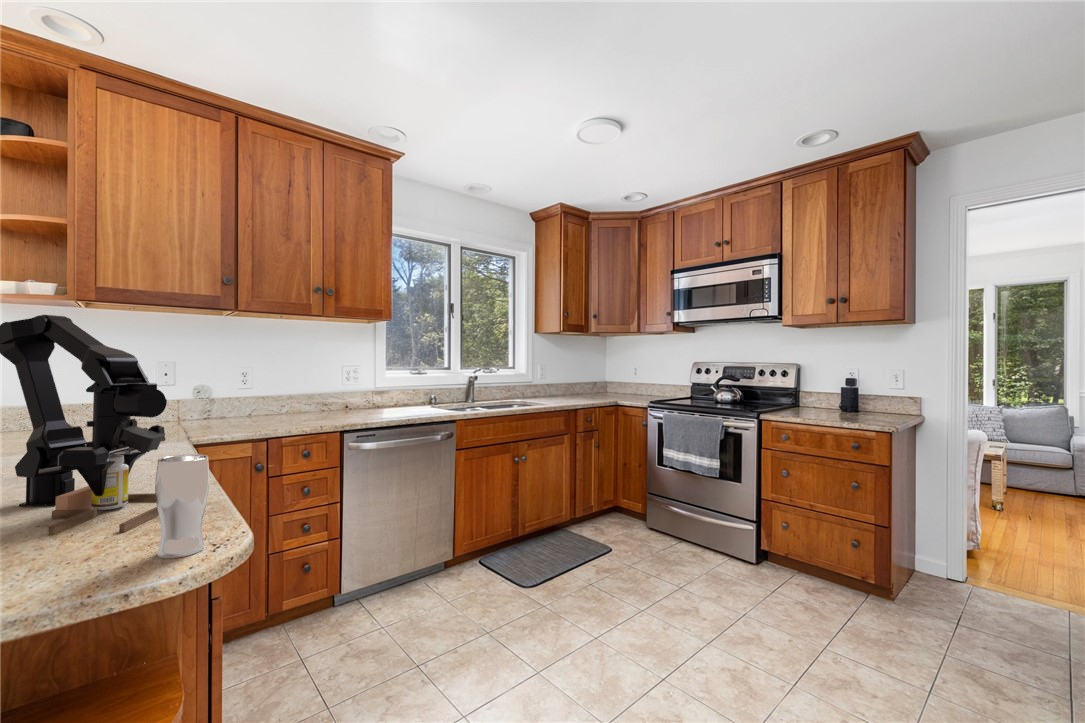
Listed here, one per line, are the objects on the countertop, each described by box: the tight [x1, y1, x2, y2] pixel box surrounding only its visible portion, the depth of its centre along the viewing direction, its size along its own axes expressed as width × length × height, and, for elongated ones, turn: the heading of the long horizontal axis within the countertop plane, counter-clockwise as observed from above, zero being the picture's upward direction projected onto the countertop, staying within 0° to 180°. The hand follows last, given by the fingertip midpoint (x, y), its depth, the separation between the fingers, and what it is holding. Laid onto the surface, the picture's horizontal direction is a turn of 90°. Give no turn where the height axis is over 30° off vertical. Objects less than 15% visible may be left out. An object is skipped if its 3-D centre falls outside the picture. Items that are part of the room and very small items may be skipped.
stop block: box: [54, 485, 93, 510], centre depth 97 cm, size 2×10×4 cm, turn 10°
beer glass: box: [154, 453, 210, 560], centre depth 77 cm, size 7×7×15 cm
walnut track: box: [47, 492, 159, 536], centre depth 93 cm, size 18×21×2 cm
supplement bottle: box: [91, 455, 130, 511], centre depth 98 cm, size 6×6×10 cm
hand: (109, 491), depth 98 cm, fingers closed on supplement bottle, 5 cm apart
